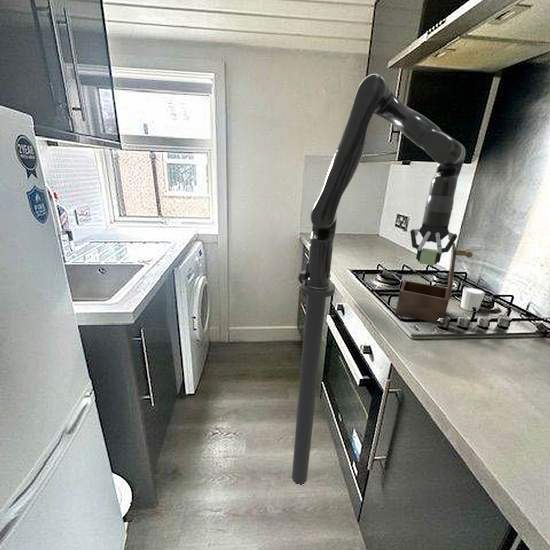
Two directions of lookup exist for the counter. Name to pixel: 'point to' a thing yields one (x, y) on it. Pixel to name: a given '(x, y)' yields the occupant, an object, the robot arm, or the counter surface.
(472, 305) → the white cup
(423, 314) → the chest
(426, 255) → the block
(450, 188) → the robot arm
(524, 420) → the counter surface
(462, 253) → the lid
